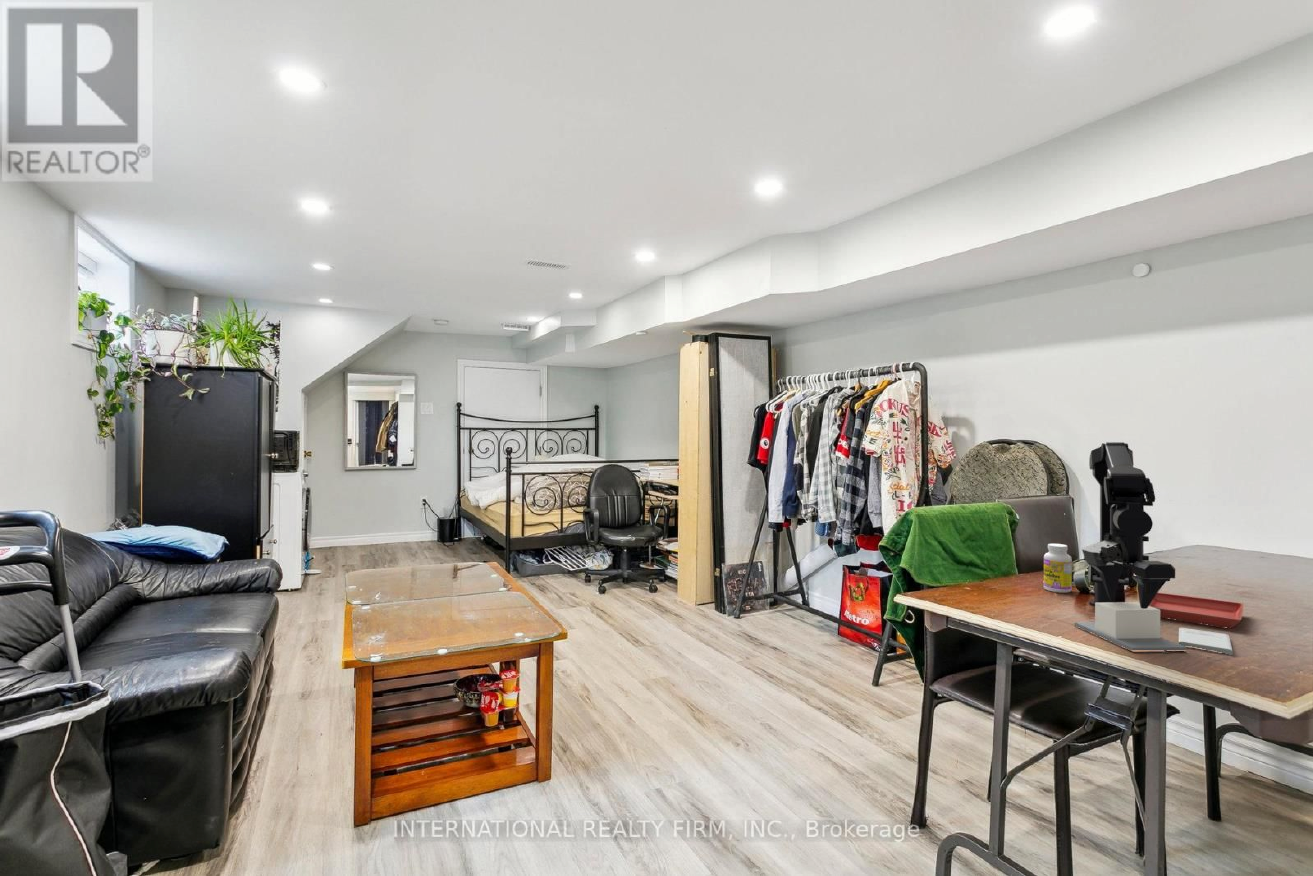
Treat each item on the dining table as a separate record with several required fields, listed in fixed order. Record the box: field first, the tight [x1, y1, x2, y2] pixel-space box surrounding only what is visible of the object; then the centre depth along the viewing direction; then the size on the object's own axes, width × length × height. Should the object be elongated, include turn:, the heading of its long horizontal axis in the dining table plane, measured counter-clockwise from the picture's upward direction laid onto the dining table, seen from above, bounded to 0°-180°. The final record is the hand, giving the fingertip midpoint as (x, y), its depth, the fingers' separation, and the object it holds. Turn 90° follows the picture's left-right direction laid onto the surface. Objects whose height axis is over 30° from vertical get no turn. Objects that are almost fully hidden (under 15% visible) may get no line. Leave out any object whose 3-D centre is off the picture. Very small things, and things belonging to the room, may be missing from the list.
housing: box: [1094, 601, 1161, 639], centre depth 133 cm, size 10×6×6 cm, turn 91°
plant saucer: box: [1149, 591, 1244, 629], centre depth 149 cm, size 18×18×3 cm
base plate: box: [1074, 621, 1187, 651], centre depth 133 cm, size 17×11×4 cm, turn 0°
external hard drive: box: [1178, 627, 1233, 656], centre depth 130 cm, size 2×8×12 cm
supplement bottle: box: [1043, 543, 1073, 594], centre depth 174 cm, size 7×7×13 cm
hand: (1126, 602), depth 133 cm, fingers open, 9 cm apart
